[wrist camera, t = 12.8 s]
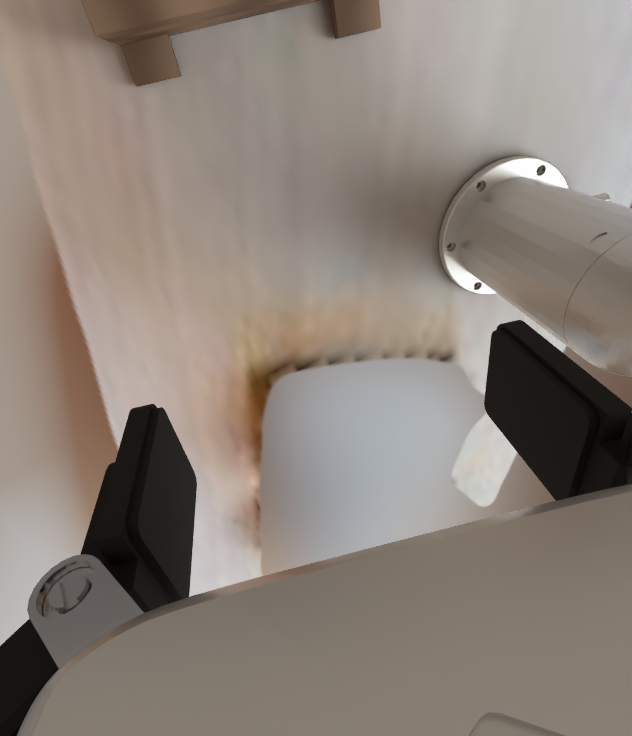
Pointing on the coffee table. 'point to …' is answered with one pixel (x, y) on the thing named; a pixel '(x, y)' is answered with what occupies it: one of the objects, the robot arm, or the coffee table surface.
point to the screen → (196, 25)
